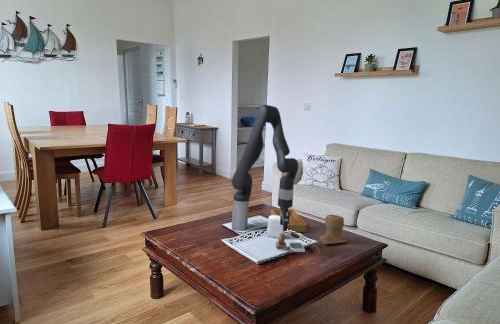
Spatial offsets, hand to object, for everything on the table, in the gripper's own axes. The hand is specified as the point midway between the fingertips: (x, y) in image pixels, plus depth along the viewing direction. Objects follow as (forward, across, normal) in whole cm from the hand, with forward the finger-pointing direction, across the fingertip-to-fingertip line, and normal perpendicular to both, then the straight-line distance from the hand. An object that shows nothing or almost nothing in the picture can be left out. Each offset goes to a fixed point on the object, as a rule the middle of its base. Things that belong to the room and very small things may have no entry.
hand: (283, 227), depth 178 cm
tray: (+12, -38, +10) cm, 41 cm away
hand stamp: (+11, 0, 0) cm, 11 cm away
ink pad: (+11, 0, +8) cm, 14 cm away
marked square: (+11, 0, +16) cm, 19 cm away
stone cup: (+12, -11, +30) cm, 34 cm away
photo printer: (+11, -16, -1) cm, 19 cm away
